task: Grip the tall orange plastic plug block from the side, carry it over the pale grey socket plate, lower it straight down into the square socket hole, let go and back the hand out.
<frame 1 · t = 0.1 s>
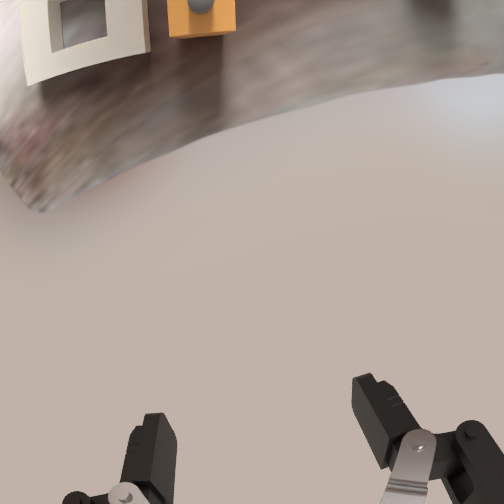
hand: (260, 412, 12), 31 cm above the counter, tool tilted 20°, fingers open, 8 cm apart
plug: (201, 18, 26), on the counter
socket: (87, 18, 23), on the counter
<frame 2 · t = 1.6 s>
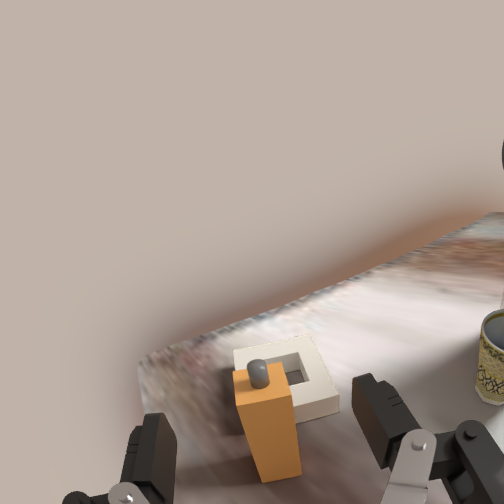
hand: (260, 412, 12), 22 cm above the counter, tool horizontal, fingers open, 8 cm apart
plug: (278, 464, 29), on the counter
socket: (283, 388, 41), on the counter
ceramic cup: (503, 392, 28), on the counter
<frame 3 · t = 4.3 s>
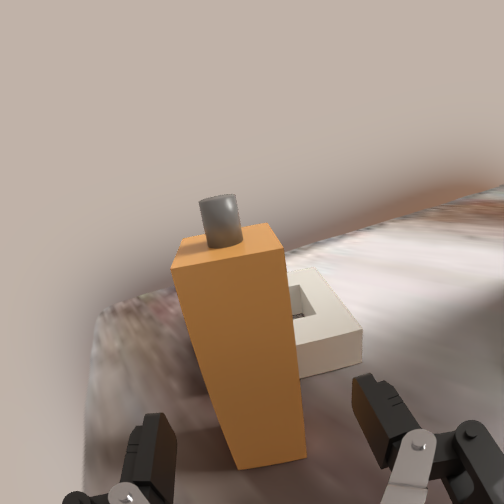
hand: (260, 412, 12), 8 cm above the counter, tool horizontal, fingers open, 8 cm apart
plug: (268, 440, 18), on the counter
socket: (278, 335, 31), on the counter
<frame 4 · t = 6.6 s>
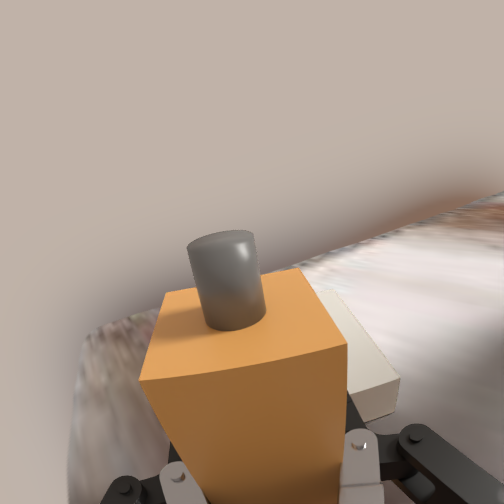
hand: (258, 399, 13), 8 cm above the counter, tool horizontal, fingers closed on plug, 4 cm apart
socket: (293, 374, 25), on the counter
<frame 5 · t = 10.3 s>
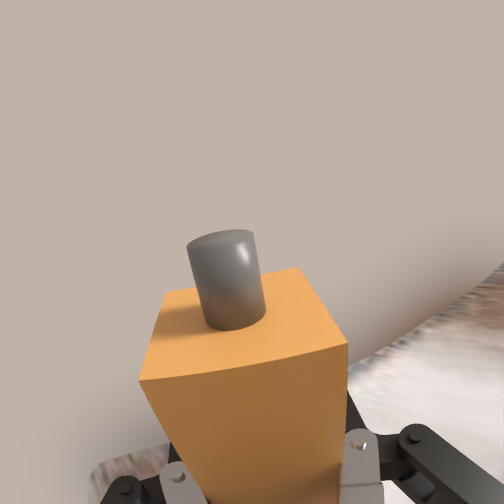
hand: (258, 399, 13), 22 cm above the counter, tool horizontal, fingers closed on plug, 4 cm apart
when the fingers open (9 cm above the counter, at t = 13.9 s): plug stays where it is, resting in socket.
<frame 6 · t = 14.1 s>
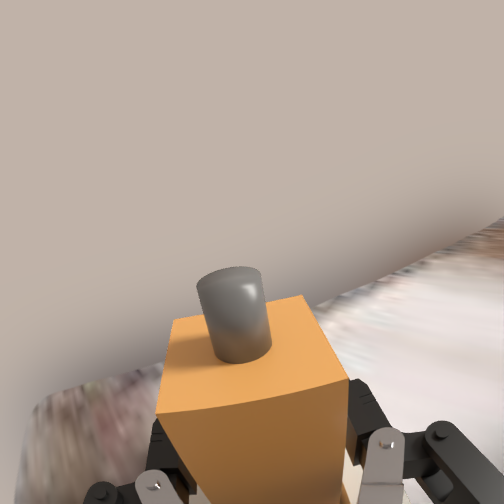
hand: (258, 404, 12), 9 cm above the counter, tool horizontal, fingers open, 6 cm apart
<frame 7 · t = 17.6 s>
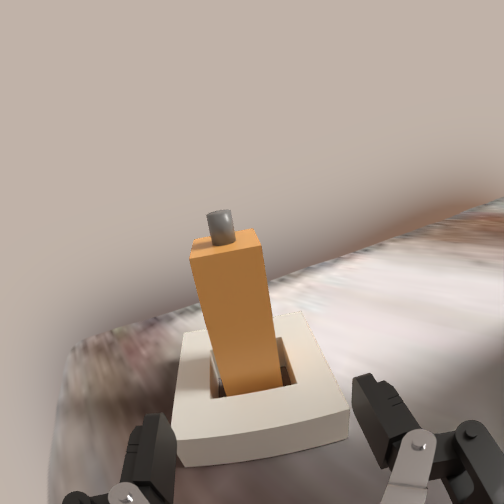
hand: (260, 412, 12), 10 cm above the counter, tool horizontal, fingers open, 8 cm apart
plug: (256, 395, 25), resting in socket
socket: (255, 395, 25), on the counter
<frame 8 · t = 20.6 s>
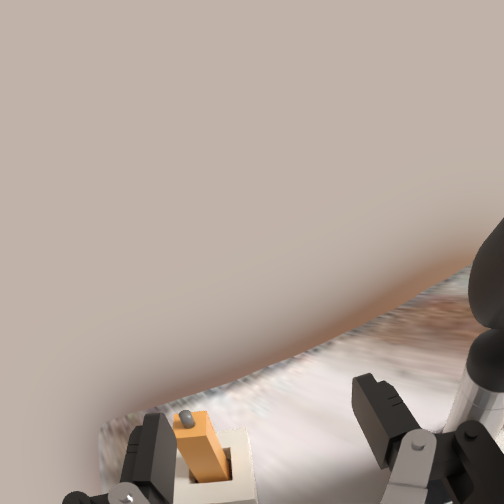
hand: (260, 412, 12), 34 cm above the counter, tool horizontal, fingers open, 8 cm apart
plug: (216, 476, 39), resting in socket
socket: (215, 476, 39), on the counter
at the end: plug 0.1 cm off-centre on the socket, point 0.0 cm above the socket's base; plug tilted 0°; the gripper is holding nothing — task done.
